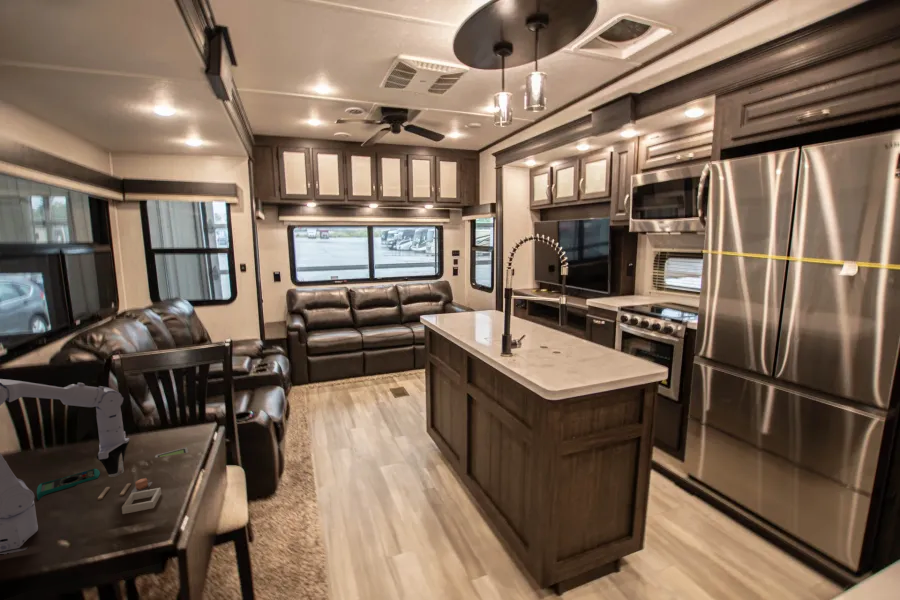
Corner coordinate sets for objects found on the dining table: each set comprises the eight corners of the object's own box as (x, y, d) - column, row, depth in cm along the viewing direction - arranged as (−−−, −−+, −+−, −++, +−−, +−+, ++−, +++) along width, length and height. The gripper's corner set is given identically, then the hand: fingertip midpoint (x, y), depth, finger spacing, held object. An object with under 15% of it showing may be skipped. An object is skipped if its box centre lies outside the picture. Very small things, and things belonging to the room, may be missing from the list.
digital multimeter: (101, 483, 133) (100, 474, 133) (37, 502, 123) (35, 493, 123) (99, 474, 139) (99, 466, 138) (38, 491, 129) (37, 483, 128)
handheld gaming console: (156, 472, 137) (154, 454, 149) (157, 476, 137) (155, 458, 149) (191, 462, 143) (186, 446, 155) (191, 466, 143) (187, 450, 155)
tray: (154, 512, 118) (152, 501, 117) (123, 518, 115) (121, 507, 114) (161, 498, 124) (160, 487, 124) (132, 503, 122) (131, 492, 121)
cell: (121, 475, 123) (119, 455, 122) (106, 477, 121) (104, 457, 120) (125, 469, 126) (123, 449, 125) (111, 471, 125) (109, 452, 124)
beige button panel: (150, 498, 124) (149, 492, 124) (93, 509, 119) (92, 503, 119) (160, 479, 134) (160, 474, 134) (108, 489, 129) (108, 483, 129)
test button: (146, 488, 127) (145, 482, 126) (134, 490, 126) (133, 484, 125) (149, 483, 130) (148, 477, 129) (138, 485, 128) (137, 479, 128)
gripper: (117, 435, 116) (123, 479, 118) (135, 416, 130) (139, 456, 131) (87, 440, 114) (92, 484, 116) (108, 419, 127) (112, 460, 129)
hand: (115, 469), depth 123 cm, fingers closed on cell, 4 cm apart
